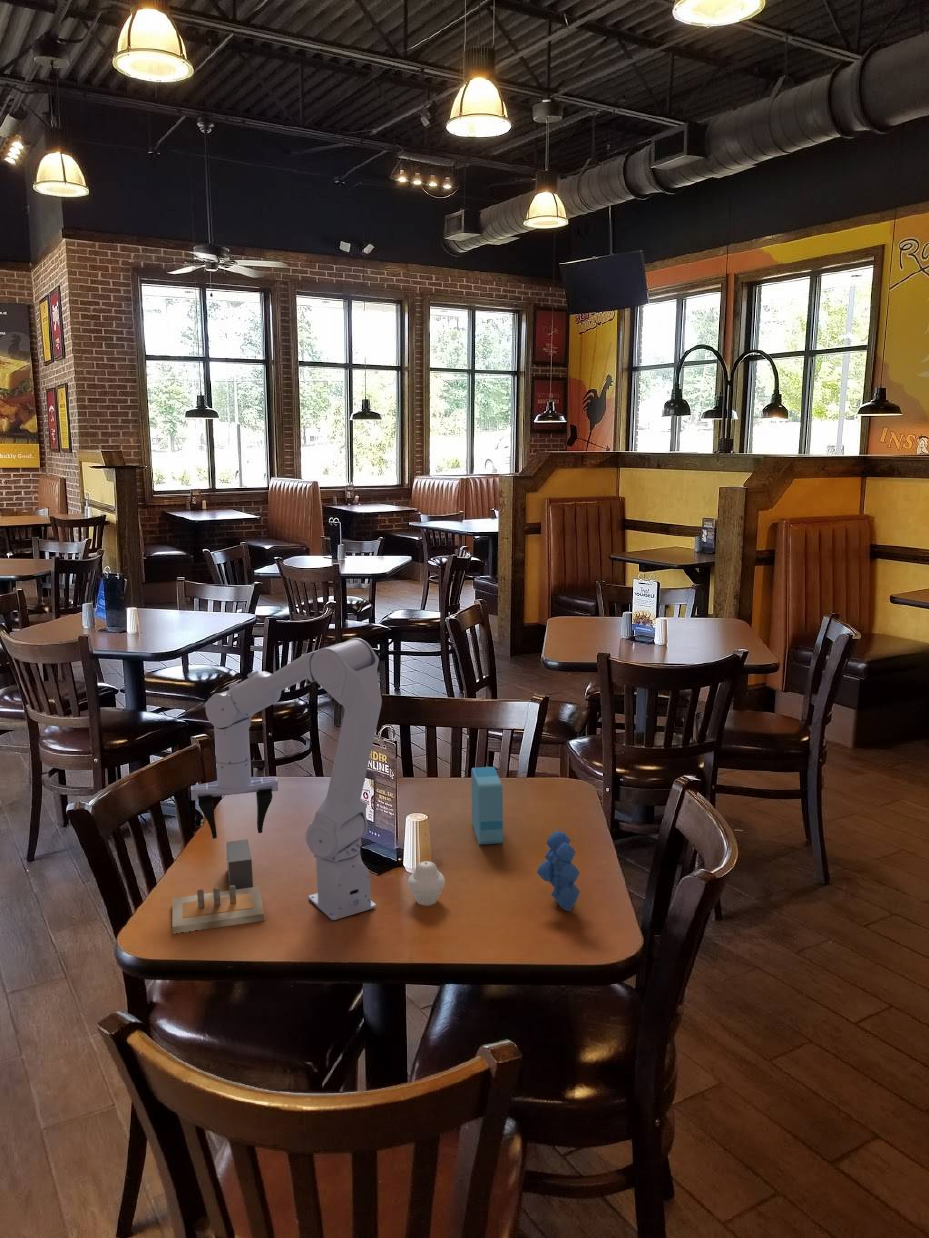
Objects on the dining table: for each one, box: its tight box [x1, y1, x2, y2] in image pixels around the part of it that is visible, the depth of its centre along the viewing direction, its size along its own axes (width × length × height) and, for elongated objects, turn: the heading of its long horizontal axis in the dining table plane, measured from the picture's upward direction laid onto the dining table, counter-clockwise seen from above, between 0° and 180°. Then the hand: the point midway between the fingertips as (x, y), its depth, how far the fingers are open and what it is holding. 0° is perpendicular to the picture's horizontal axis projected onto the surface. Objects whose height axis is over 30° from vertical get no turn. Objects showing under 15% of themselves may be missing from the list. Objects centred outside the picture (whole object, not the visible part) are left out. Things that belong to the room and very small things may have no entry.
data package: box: [470, 766, 504, 846], centre depth 183 cm, size 12×4×12 cm, turn 6°
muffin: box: [407, 860, 446, 907], centre depth 157 cm, size 6×6×7 cm
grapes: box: [536, 830, 581, 911], centre depth 155 cm, size 12×7×12 cm, turn 11°
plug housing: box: [225, 839, 254, 890], centre depth 166 cm, size 9×4×5 cm, turn 17°
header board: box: [171, 885, 265, 935], centre depth 154 cm, size 14×10×4 cm
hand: (237, 833), depth 165 cm, fingers open, 7 cm apart
